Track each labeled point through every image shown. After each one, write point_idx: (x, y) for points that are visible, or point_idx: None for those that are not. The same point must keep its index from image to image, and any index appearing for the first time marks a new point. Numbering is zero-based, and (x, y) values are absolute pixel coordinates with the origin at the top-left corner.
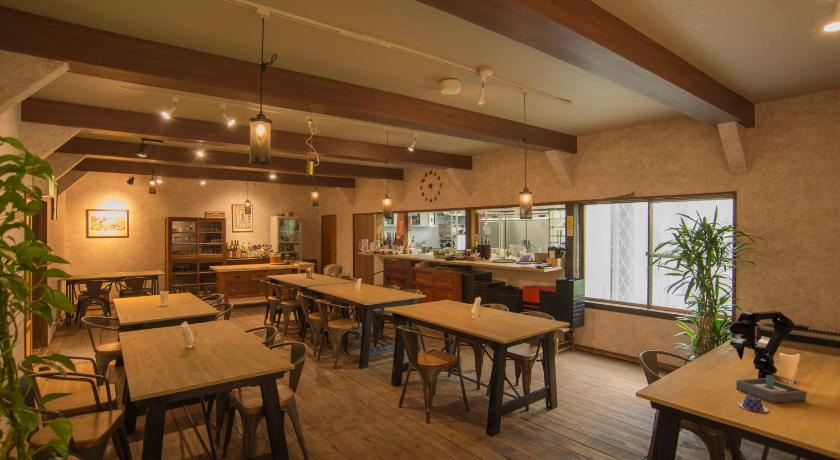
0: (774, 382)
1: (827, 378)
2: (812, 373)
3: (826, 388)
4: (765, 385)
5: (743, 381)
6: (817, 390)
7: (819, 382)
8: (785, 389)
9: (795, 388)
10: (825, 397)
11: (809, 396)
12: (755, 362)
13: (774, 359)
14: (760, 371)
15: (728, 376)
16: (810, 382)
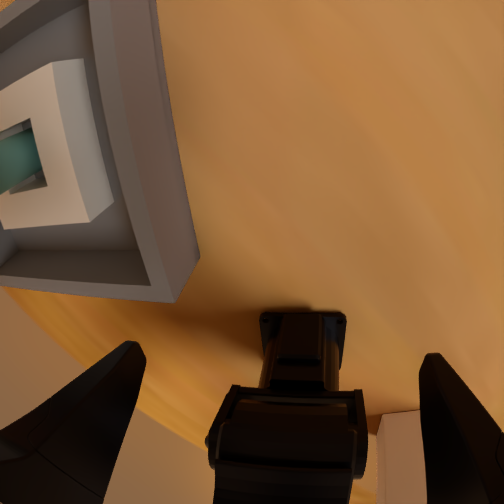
0: (101, 277)
1: None
2: None
3: (203, 442)
4: (45, 159)
5: (96, 8)
6: (176, 412)
7: None
8: (58, 262)
9: (11, 279)
10: None
11: (89, 330)
12: (116, 357)
13: (377, 501)
14: (304, 377)
15: (474, 188)
16: None
